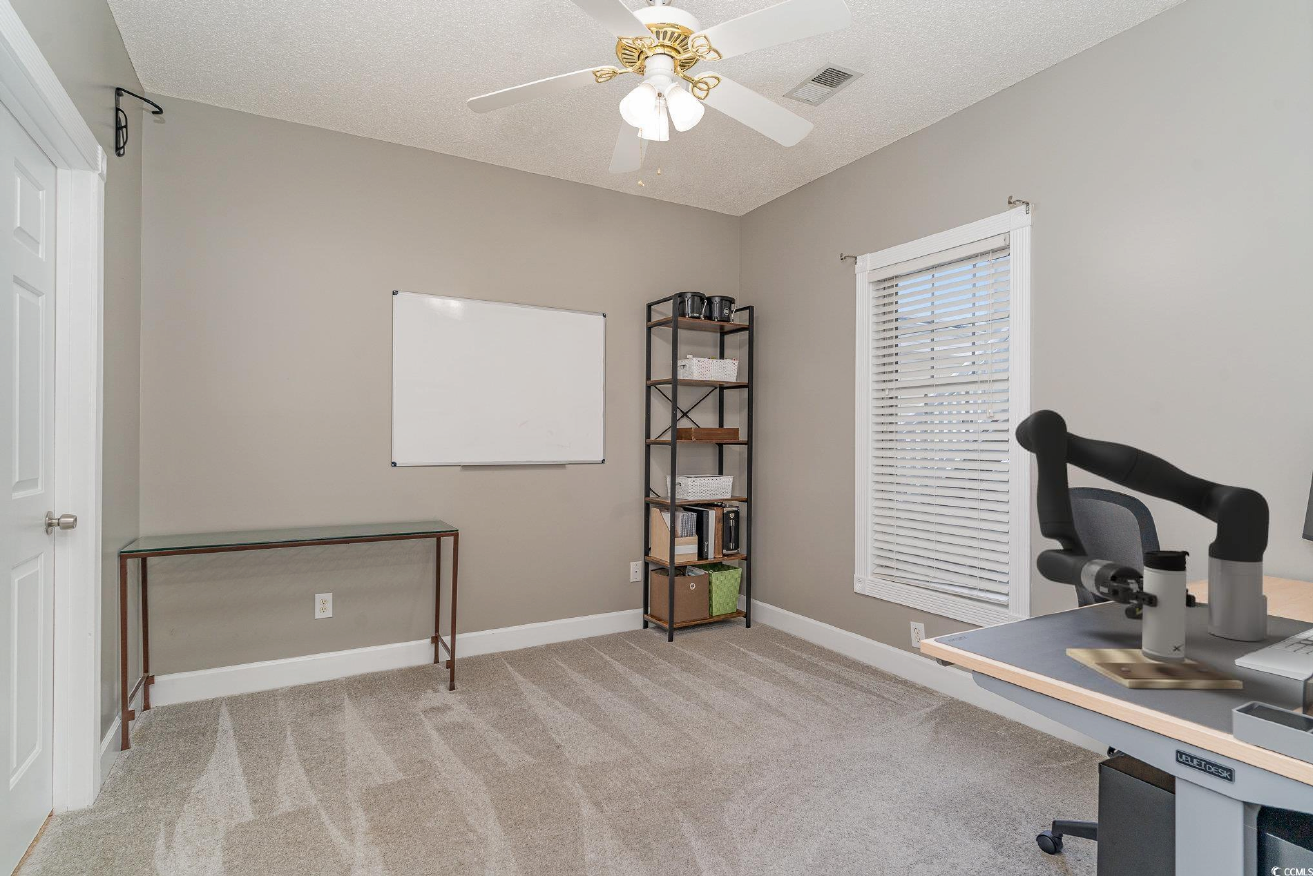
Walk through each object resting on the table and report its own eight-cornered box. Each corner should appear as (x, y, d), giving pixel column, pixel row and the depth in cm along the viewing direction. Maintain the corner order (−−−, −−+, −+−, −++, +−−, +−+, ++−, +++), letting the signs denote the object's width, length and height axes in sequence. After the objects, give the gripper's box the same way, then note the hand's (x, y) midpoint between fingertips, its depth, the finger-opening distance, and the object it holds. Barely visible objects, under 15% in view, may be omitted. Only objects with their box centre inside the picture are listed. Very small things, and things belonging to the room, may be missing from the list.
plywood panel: (1164, 655, 135) (1165, 647, 135) (1242, 689, 117) (1242, 679, 117) (1066, 654, 135) (1066, 646, 135) (1128, 688, 117) (1128, 679, 117)
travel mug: (1189, 667, 118) (1191, 554, 118) (1143, 660, 122) (1145, 550, 121) (1184, 656, 123) (1186, 549, 123) (1140, 650, 127) (1142, 545, 127)
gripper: (1076, 562, 137) (1134, 580, 120) (1147, 562, 137) (1215, 581, 120) (1076, 598, 137) (1134, 622, 120) (1146, 599, 137) (1214, 623, 120)
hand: (1174, 601), depth 120 cm, fingers closed on travel mug, 6 cm apart
